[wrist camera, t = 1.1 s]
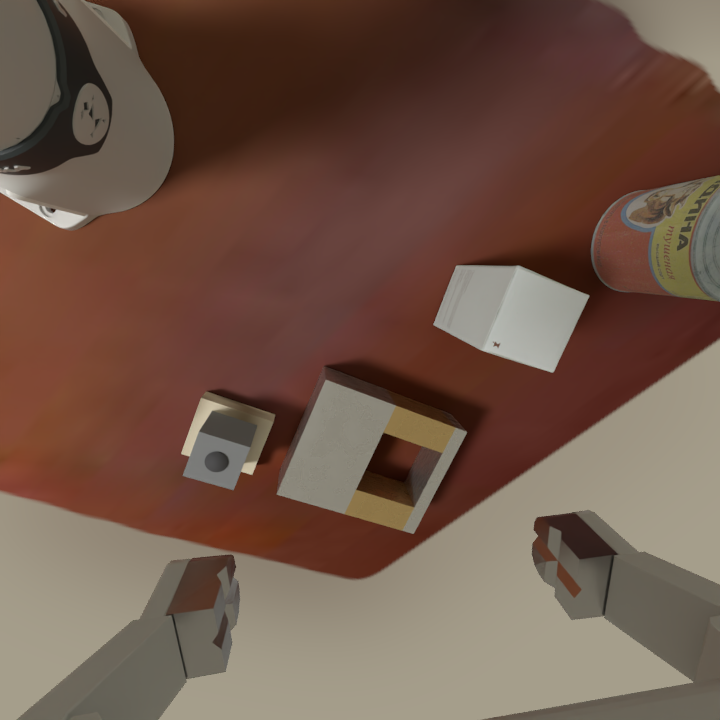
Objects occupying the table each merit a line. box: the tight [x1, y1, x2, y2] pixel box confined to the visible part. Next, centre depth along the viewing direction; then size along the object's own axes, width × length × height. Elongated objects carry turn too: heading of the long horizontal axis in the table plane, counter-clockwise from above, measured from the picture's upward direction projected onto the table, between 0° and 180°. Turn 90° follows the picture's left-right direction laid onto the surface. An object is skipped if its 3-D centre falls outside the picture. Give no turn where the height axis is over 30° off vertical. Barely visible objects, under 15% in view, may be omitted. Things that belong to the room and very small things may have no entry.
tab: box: [181, 391, 275, 475], centre depth 42 cm, size 8×7×2 cm
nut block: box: [183, 411, 257, 490], centre depth 38 cm, size 5×5×5 cm
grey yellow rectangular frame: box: [277, 366, 467, 534], centre depth 43 cm, size 17×14×5 cm
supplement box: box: [433, 265, 589, 373], centre depth 36 cm, size 7×7×13 cm
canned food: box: [591, 175, 720, 302], centre depth 37 cm, size 11×11×12 cm
